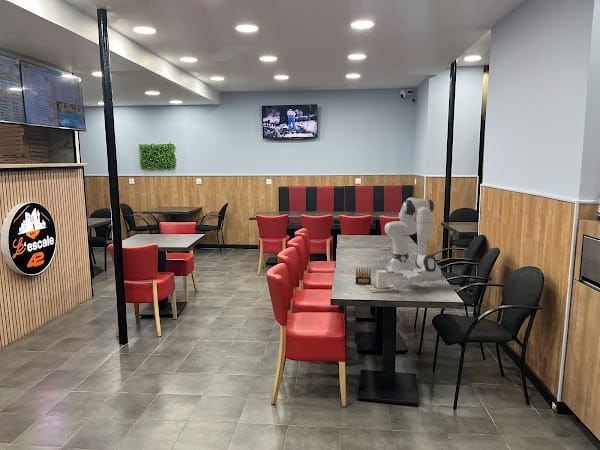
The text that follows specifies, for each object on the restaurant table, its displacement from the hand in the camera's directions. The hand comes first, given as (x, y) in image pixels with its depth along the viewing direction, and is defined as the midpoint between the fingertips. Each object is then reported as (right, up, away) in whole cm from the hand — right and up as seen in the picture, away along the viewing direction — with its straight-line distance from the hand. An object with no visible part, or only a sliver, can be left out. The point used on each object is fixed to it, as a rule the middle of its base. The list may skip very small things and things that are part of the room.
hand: (396, 276), depth 297 cm
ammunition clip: (-21, -7, +13) cm, 25 cm away
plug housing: (-10, -7, 0) cm, 13 cm away
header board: (-10, -8, 0) cm, 13 cm away
